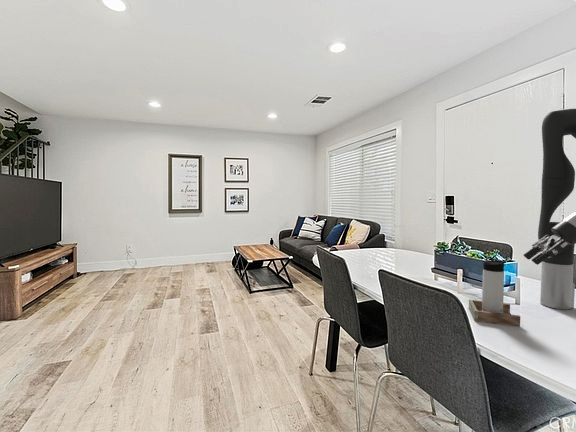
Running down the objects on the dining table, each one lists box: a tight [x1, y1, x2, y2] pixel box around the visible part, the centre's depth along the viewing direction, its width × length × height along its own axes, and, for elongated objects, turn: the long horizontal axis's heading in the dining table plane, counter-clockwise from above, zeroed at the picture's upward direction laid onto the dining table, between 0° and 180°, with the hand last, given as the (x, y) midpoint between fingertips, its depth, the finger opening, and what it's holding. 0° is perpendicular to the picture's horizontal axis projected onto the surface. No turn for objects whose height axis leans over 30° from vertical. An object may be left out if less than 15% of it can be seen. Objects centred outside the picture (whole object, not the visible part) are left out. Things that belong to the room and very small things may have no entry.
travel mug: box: [481, 259, 506, 313], centre depth 106 cm, size 6×7×20 cm
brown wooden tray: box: [468, 299, 521, 328], centre depth 107 cm, size 13×13×4 cm
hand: (529, 259), depth 102 cm, fingers open, 8 cm apart
